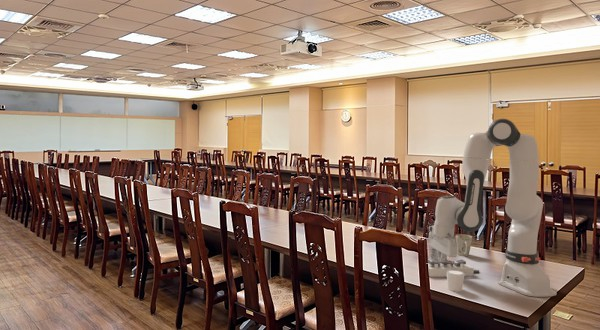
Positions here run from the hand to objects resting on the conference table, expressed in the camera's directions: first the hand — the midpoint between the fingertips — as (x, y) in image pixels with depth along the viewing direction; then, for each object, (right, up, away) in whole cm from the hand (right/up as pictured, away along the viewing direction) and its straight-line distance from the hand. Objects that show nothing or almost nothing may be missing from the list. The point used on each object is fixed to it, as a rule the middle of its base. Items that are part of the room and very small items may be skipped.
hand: (441, 261), depth 199 cm
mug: (+23, -5, +33) cm, 41 cm away
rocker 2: (+9, -1, +1) cm, 9 cm away
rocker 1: (-3, -1, -1) cm, 4 cm away
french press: (+6, -5, +23) cm, 25 cm away
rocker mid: (+3, -1, 0) cm, 3 cm away
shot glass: (-1, -7, -20) cm, 21 cm away
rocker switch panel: (+5, -6, +1) cm, 8 cm away
